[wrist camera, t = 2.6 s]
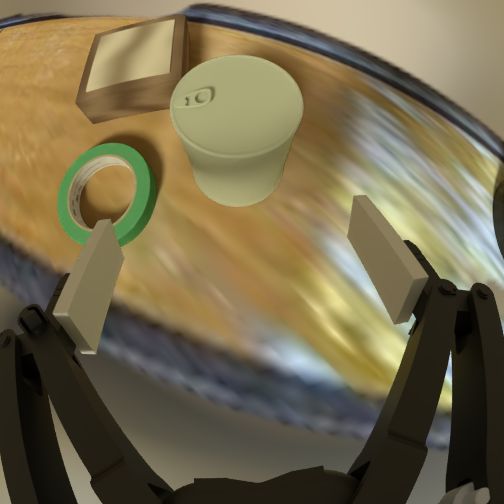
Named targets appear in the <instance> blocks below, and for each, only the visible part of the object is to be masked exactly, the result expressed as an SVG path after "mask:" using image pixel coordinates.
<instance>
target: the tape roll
mask: <svg viewBox="0 0 504 504" xmlns="http://www.w3.org/2000/svg"><path fill="white" fill-rule="evenodd" d="M110 165H122V166H125V167H127V168H129V169H131V172H132V174H133V178H134V192H133V197H132V200H131V203H130V205H129V207H128V209H127V210H126V212H125V213H124V214H123V215H122V216H121V217H120V218H119V219H118V220H117V221H116V222H115V223H113V224H112V225H113V228H114V231H115V234H116V237H117V240H118V243H119V245H120V247H121V246H124V245H125V244H127V243H129V242H130V241H132V240H133V239H134V238H136V237H137V236H138V235H139V234H140V233H141V231H142V230H143V229H144V228H145V226H146V225H147V223H148V221H149V220H150V218H151V215H152V213H153V210H154V207H155V202H156V195H157V188H156V181H155V177H154V174H153V172H152V170H151V168H150V166H149V165H148V163H147V162H146V161H145V159H144V158H143V157H142V155H141V154H140V153H139V152H138V151H136V150H135V149H134V148H132V147H130V146H128V145H125V144H121V143H106V144H101V145H98V146H96V147H94V148H91V149H90V150H88V151H86V152H85V153H84V154H82V155H81V156H80V157H79V158H78V159H77V160H76V161H75V162H74V163H73V164H72V166H71V167H70V168H69V170H68V171H67V172H66V174H65V176H64V178H63V180H62V183H61V186H60V189H59V193H58V200H57V208H58V215H59V219H60V222H61V225H62V227H63V229H64V230H65V232H66V233H67V235H69V236H70V237H71V238H72V239H73V240H74V241H76V242H78V243H80V244H82V245H85V243H86V242H87V240H88V238H89V236H90V234H91V232H92V231H93V229H90V228H89V227H88V226H87V225H86V224H85V223H84V221H83V219H82V216H81V213H80V196H81V193H82V190H83V188H84V186H85V184H86V182H87V181H88V180H89V178H90V177H91V176H92V175H93V174H94V173H95V172H97V171H98V170H100V169H102V168H104V167H106V166H110Z"/></svg>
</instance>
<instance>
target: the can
mask: <svg viewBox="0 0 504 504" xmlns="http://www.w3.org/2000/svg"><path fill="white" fill-rule="evenodd" d="M302 115H303V97H302V94H301V91H300V89H299V87H298V85H297V83H296V82H295V80H294V79H293V78H292V77H291V76H290V74H289V73H288V72H286V71H285V70H284V69H282V68H281V67H280V66H278V65H276V64H275V63H273V62H271V61H268V60H266V59H263V58H260V57H255V56H250V55H226V56H221V57H217V58H213V59H210V60H208V61H205V62H203V63H201V64H199V65H197V66H196V67H194V68H193V69H191V70H190V71H189V72H188V73H187V74H186V75H185V76H184V77H183V78H182V79H181V80H180V81H179V83H178V84H177V86H176V88H175V90H174V91H173V94H172V97H171V102H170V116H171V120H172V123H173V126H174V128H175V130H176V131H177V133H178V134H179V137H180V139H181V141H182V144H183V146H184V148H185V151H186V153H187V156H188V158H189V161H190V163H191V166H192V168H193V174H194V178H195V181H196V183H197V185H198V186H199V188H200V189H201V191H202V192H203V193H204V194H205V195H206V196H207V197H209V198H210V199H212V200H213V201H215V202H217V203H220V204H222V205H226V206H232V207H243V206H249V205H253V204H255V203H258V202H260V201H262V200H263V199H265V198H266V197H268V196H269V195H270V194H271V193H272V192H273V191H274V190H275V189H276V187H277V186H278V184H279V182H280V180H281V177H282V174H283V166H284V163H285V160H286V157H287V154H288V151H289V148H290V145H291V143H292V140H293V137H294V134H295V132H296V130H297V128H298V126H299V124H300V122H301V119H302Z"/></svg>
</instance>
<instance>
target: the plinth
mask: <svg viewBox="0 0 504 504" xmlns="http://www.w3.org/2000/svg"><path fill="white" fill-rule="evenodd" d="M189 54H190V37H189V31H188V26H187V20H186V15H185V14H181V15H175V16H169V17H163V18H158V19H153V20H148V21H144V22H140V23H135V24H131V25H127V26H123V27H120V28H116V29H113V30H109V31H106V32H103V33H99V34H96V35H95V38H94V40H93V43H92V46H91V49H90V52H89V55H88V59H87V62H86V65H85V68H84V72H83V75H82V79H81V83H80V87H79V91H78V95H77V99H76V105H77V106H78V107H79V108H80V109H81V111H82V112H83V113H84V114H85V115H86V116H87V118H88V119H89V120H90V121H91V122H92V123H93V124H96V123H100V122H104V121H108V120H113V119H117V118H121V117H126V116H131V115H136V114H141V113H146V112H152V111H158V110H164V109H170V102H171V97H172V94H173V91H174V90H175V88H176V86H177V84H178V83H179V81H180V80H181V79H182V78H183V77H184V76H185V75H186V74H187V73H188V72H189Z"/></svg>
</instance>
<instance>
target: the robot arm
mask: <svg viewBox="0 0 504 504" xmlns="http://www.w3.org/2000/svg"><path fill="white" fill-rule="evenodd" d="M494 226H495V232H496V237H497V241H498V245H499V248H500V251H501V254H502V256H503V258H504V181H503V182H501V184H500V185H499V186H498V188H497V191H496V194H495V199H494ZM347 237H348V239H349V241H350V243H351V244H352V246H353V248H354V250H355V251H356V253H357V255H358V257H359V258H360V260H361V262H362V264H363V266H364V267H365V269H366V271H367V273H368V275H369V277H370V278H371V280H372V282H373V284H374V286H375V288H376V290H377V292H378V294H379V295H380V297H381V299H382V301H383V303H384V305H385V307H386V309H387V311H388V313H389V315H390V317H391V319H392V321H393V323H394V325H395V324H400V323H404V322H408V321H409V319H410V317H411V315H412V313H413V314H414V316H415V318H416V320H415V322H414V324H413V326H412V328H411V330H410V332H409V333H408V334H409V335H410V337H409V340H408V343H407V346H406V349H405V352H404V355H403V358H402V361H401V364H400V366H399V369H398V372H397V375H396V377H395V380H394V382H393V385H392V387H391V390H390V392H389V395H388V397H387V399H386V402H385V404H384V406H383V409H382V411H381V413H380V415H379V418H378V420H377V422H376V424H375V426H374V428H373V430H372V432H371V434H370V436H369V438H368V440H367V442H366V444H365V446H364V448H363V450H362V452H361V453H360V455H359V456H358V457H357V459H356V460H355V462H354V463H353V465H352V466H351V468H350V470H349V471H348V473H347V474H345V473H342V472H338V471H333V470H324V468H323V466H318V467H313V468H308V469H302V470H296V471H292V472H289V473H286V474H284V475H281V476H279V477H276V478H273V479H270V480H268V481H265V482H261V483H254V482H247V481H241V480H234V479H228V478H206V479H205V478H194V483H192V484H188V485H186V486H183V487H181V488H179V489H177V490H175V491H174V490H173V489H172V488H171V487H170V486H169V485H168V484H167V483H166V482H165V481H164V480H163V479H162V478H160V477H159V476H158V475H157V474H156V473H155V472H154V471H153V470H152V469H151V468H150V466H149V465H148V464H147V463H146V462H145V460H144V459H143V458H142V456H141V455H140V454H139V453H138V452H137V450H136V449H135V447H134V446H133V445H132V443H131V442H130V441H129V439H128V438H127V437H126V436H125V434H124V433H123V431H122V430H121V428H120V427H119V425H118V424H117V423H116V421H115V420H114V418H113V417H112V415H111V414H110V412H109V411H108V409H107V407H106V406H105V404H104V403H103V401H102V400H101V398H100V397H99V395H98V393H97V391H96V390H95V388H94V387H93V385H92V383H91V382H90V380H89V378H88V376H87V374H86V373H85V371H84V369H83V367H82V365H81V363H80V362H79V360H78V358H77V356H76V355H75V354H74V351H75V348H76V347H77V348H78V349H79V351H80V352H81V353H82V354H96V351H97V347H98V343H99V339H100V336H101V332H102V328H103V324H104V321H105V317H106V314H107V310H108V307H109V304H110V300H111V297H112V294H113V291H114V288H115V285H116V281H117V278H118V275H119V272H120V269H121V267H122V264H123V261H124V256H123V254H122V251H121V248H120V245H119V243H118V240H117V237H116V234H115V231H114V228H113V225H112V222H111V219H104V220H98V222H97V224H96V225H95V227H94V229H93V231H92V232H91V234H90V236H89V238H88V240H87V242H86V243H85V245H84V247H83V249H82V251H81V253H80V255H79V257H78V259H77V261H76V263H75V265H74V267H73V269H72V271H71V273H66V274H65V275H64V276H63V277H62V278H61V279H60V281H59V282H58V285H57V287H56V290H55V291H54V293H53V297H51V300H50V302H49V304H48V306H47V309H46V311H45V313H44V312H43V310H42V309H41V307H40V306H39V305H37V304H32V305H29V306H27V307H26V308H25V309H23V310H22V312H21V313H20V314H19V317H18V325H19V326H20V327H21V329H22V330H23V331H24V334H21V335H18V336H17V335H16V334H15V332H14V331H13V330H11V329H7V330H4V331H3V332H1V333H0V454H1V461H2V466H3V471H4V476H5V480H6V484H7V488H8V492H9V496H10V500H11V503H12V504H78V503H77V500H76V498H75V495H74V492H73V490H72V487H71V484H70V481H69V478H68V475H67V472H66V469H65V466H64V462H63V459H62V455H61V452H60V448H59V445H58V441H57V437H56V432H55V428H54V424H53V419H52V414H51V409H50V404H49V398H48V395H49V397H50V399H51V402H52V404H53V406H54V408H55V411H56V413H57V415H58V417H59V419H60V421H61V423H62V425H63V427H64V429H65V431H66V433H67V435H68V437H69V439H70V441H71V442H72V444H73V446H74V448H75V450H76V451H77V453H78V455H79V457H80V458H81V460H82V462H83V464H84V465H85V467H86V468H87V470H88V472H89V473H90V475H91V478H92V479H91V481H90V484H91V487H92V489H93V490H94V492H95V493H96V495H97V496H98V498H99V499H100V501H101V502H102V503H103V504H406V502H407V500H408V497H409V496H410V493H411V491H412V489H413V487H414V485H415V483H416V480H417V478H418V476H419V474H420V471H421V469H422V466H423V464H424V461H425V459H426V456H427V452H428V448H427V446H426V445H425V443H426V439H427V436H428V433H429V430H430V427H431V424H432V421H433V418H434V415H435V412H436V408H437V405H438V401H439V398H440V394H441V391H442V387H443V383H444V379H445V375H446V370H447V366H448V361H449V356H450V351H451V357H452V419H451V434H450V445H449V455H448V463H447V472H446V494H445V495H444V496H443V498H442V499H441V501H440V502H439V503H438V504H504V334H503V330H502V325H501V321H500V317H499V312H498V309H497V305H496V301H495V297H494V294H493V292H492V291H491V289H490V288H489V287H488V286H486V285H485V284H482V283H475V284H473V286H472V287H471V289H470V291H467V290H458V289H457V287H456V286H455V285H454V284H453V283H452V282H450V281H449V280H446V279H440V277H439V276H438V274H437V273H436V272H435V270H434V269H433V267H432V266H431V265H430V263H429V262H428V261H427V260H426V258H425V257H424V255H423V254H422V253H421V251H420V250H419V249H418V247H417V246H416V245H414V244H413V243H412V242H410V241H409V240H402V239H401V238H400V236H399V235H398V234H397V232H396V231H395V230H394V229H393V227H392V226H391V225H390V223H389V222H388V221H387V220H386V218H385V217H384V216H383V215H382V214H381V212H380V211H379V210H378V209H377V207H376V206H375V205H374V204H373V203H372V201H371V200H370V199H369V198H368V197H367V196H366V195H359V196H354V198H353V205H352V211H351V218H350V224H349V230H348V236H347Z"/></svg>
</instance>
